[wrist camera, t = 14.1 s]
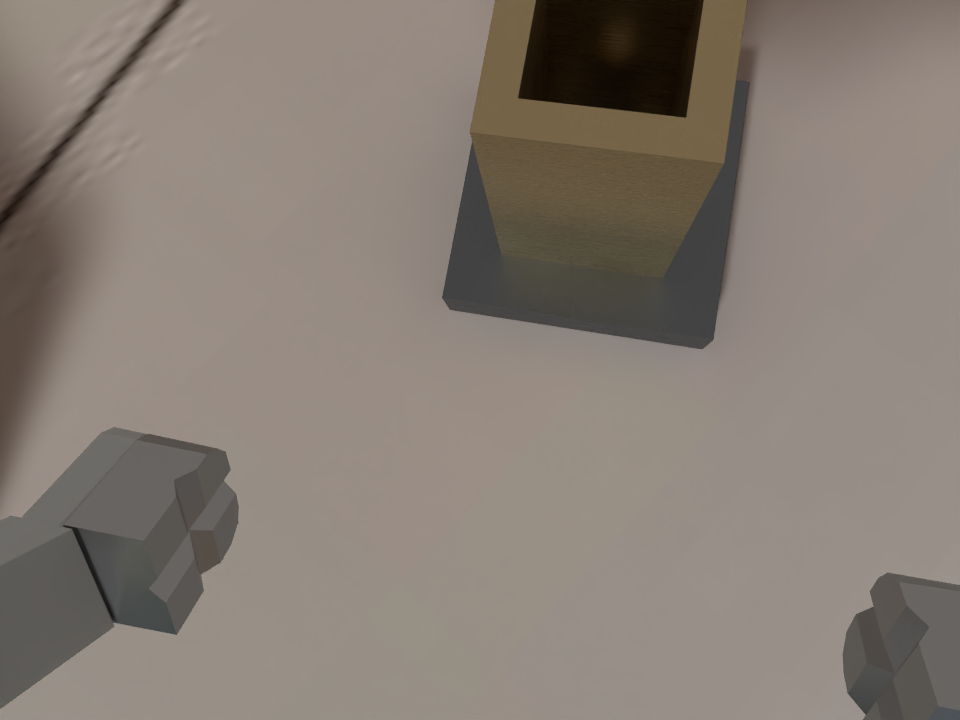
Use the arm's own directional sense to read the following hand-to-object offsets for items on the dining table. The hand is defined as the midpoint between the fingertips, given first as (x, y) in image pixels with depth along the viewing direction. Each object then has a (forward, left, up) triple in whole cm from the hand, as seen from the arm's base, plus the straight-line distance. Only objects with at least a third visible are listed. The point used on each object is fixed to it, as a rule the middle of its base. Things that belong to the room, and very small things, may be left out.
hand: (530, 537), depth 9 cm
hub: (0, +12, -19) cm, 22 cm away
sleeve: (0, +12, -17) cm, 20 cm away
